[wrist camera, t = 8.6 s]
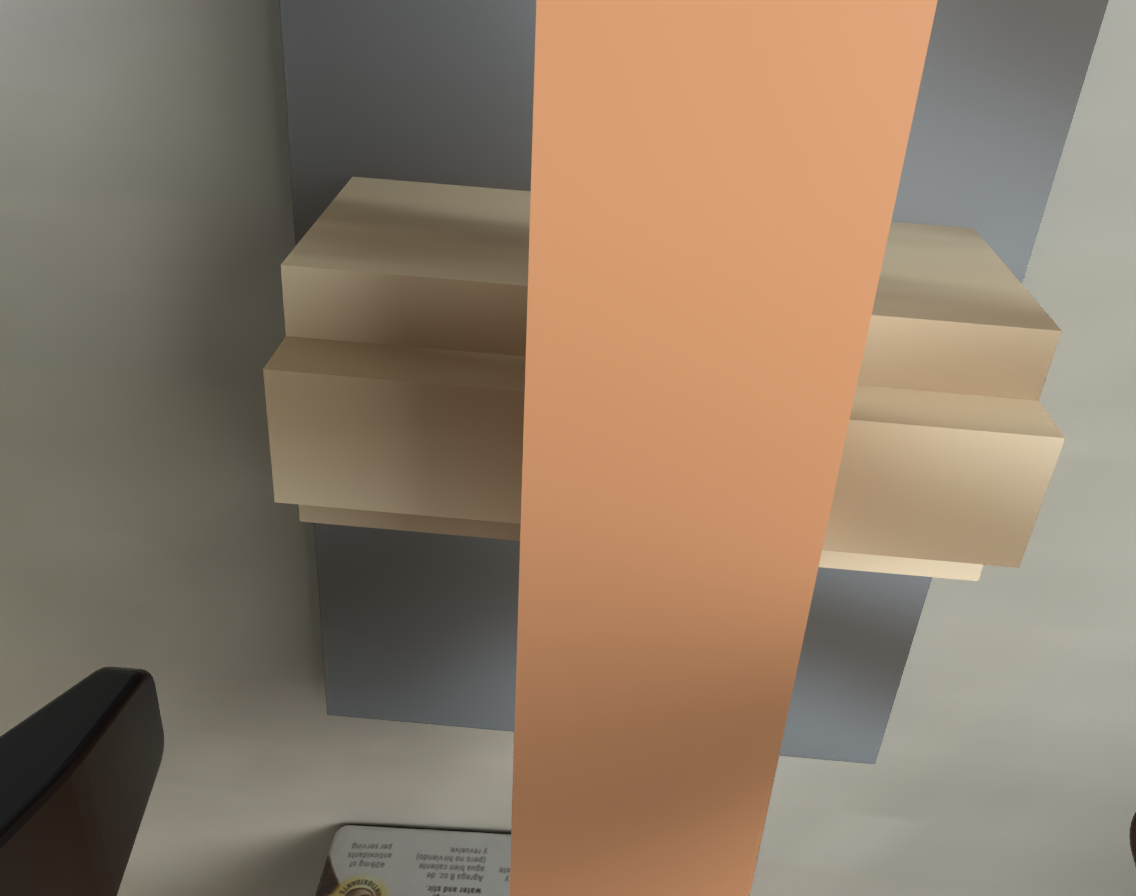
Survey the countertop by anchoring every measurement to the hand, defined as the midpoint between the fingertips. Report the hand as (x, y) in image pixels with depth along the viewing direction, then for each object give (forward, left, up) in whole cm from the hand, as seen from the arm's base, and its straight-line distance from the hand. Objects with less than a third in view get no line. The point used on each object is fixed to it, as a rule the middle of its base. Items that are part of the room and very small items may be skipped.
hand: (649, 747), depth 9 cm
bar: (0, 0, -5) cm, 5 cm away
